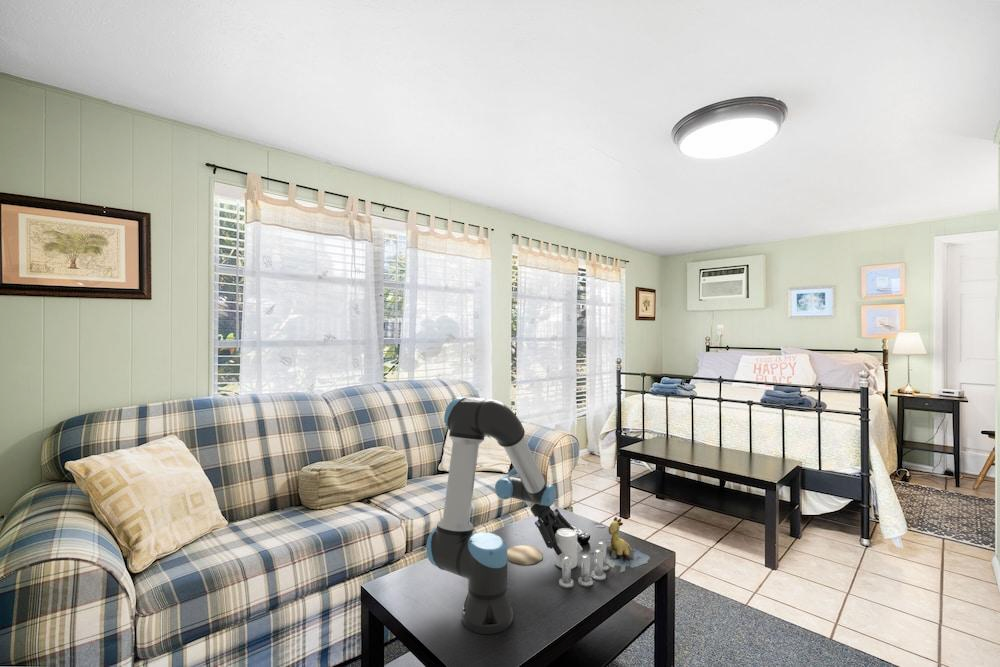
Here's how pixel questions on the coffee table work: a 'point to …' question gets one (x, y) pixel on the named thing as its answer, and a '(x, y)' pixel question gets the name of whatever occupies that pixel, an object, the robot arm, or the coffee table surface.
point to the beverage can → (567, 545)
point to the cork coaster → (524, 555)
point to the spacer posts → (586, 568)
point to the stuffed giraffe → (621, 550)
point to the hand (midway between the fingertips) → (573, 556)
